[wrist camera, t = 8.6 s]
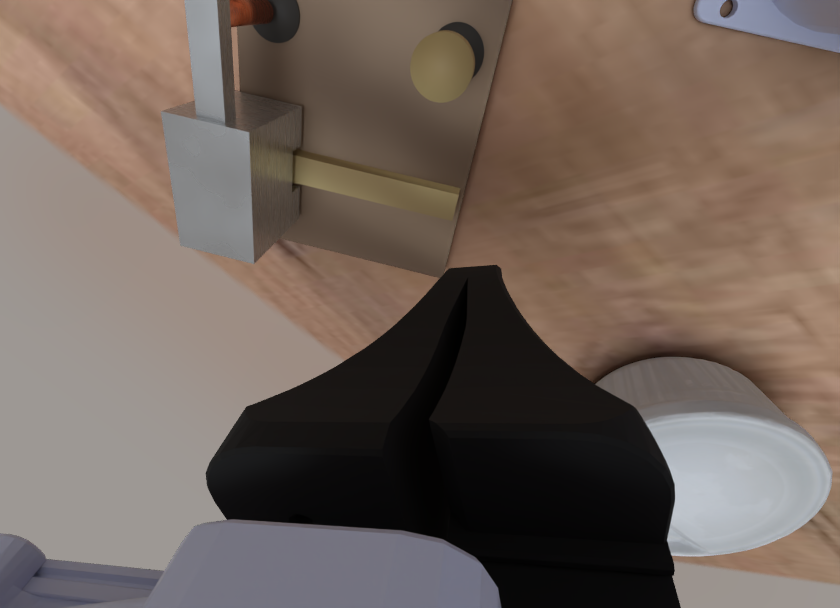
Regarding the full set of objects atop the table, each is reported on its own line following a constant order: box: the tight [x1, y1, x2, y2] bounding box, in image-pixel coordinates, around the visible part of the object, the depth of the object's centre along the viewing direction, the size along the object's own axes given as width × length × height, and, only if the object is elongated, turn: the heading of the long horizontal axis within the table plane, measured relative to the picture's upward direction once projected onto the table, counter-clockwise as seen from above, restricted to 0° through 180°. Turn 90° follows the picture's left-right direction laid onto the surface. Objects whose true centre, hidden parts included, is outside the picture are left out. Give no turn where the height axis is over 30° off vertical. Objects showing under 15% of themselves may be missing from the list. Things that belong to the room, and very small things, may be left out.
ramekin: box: [595, 357, 832, 556], centre depth 24 cm, size 11×11×5 cm
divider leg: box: [161, 0, 302, 264], centre depth 17 cm, size 8×3×4 cm, turn 170°
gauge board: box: [237, 0, 512, 278], centre depth 17 cm, size 13×10×6 cm
